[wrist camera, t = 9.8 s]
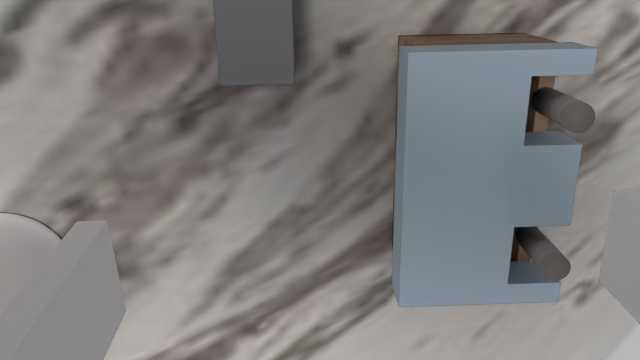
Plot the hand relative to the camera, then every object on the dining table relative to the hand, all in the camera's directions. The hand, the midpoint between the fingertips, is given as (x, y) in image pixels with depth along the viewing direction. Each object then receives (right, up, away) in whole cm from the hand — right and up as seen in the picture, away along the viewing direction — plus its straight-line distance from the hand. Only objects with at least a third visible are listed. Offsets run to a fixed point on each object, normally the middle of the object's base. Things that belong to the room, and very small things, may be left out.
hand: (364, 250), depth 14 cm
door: (+8, +2, +16) cm, 18 cm away
